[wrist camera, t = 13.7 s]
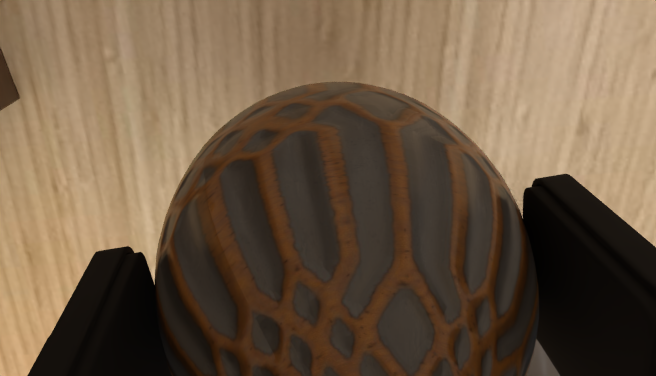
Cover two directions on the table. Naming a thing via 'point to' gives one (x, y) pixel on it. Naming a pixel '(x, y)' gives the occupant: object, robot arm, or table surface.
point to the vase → (344, 246)
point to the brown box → (6, 85)
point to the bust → (541, 363)
